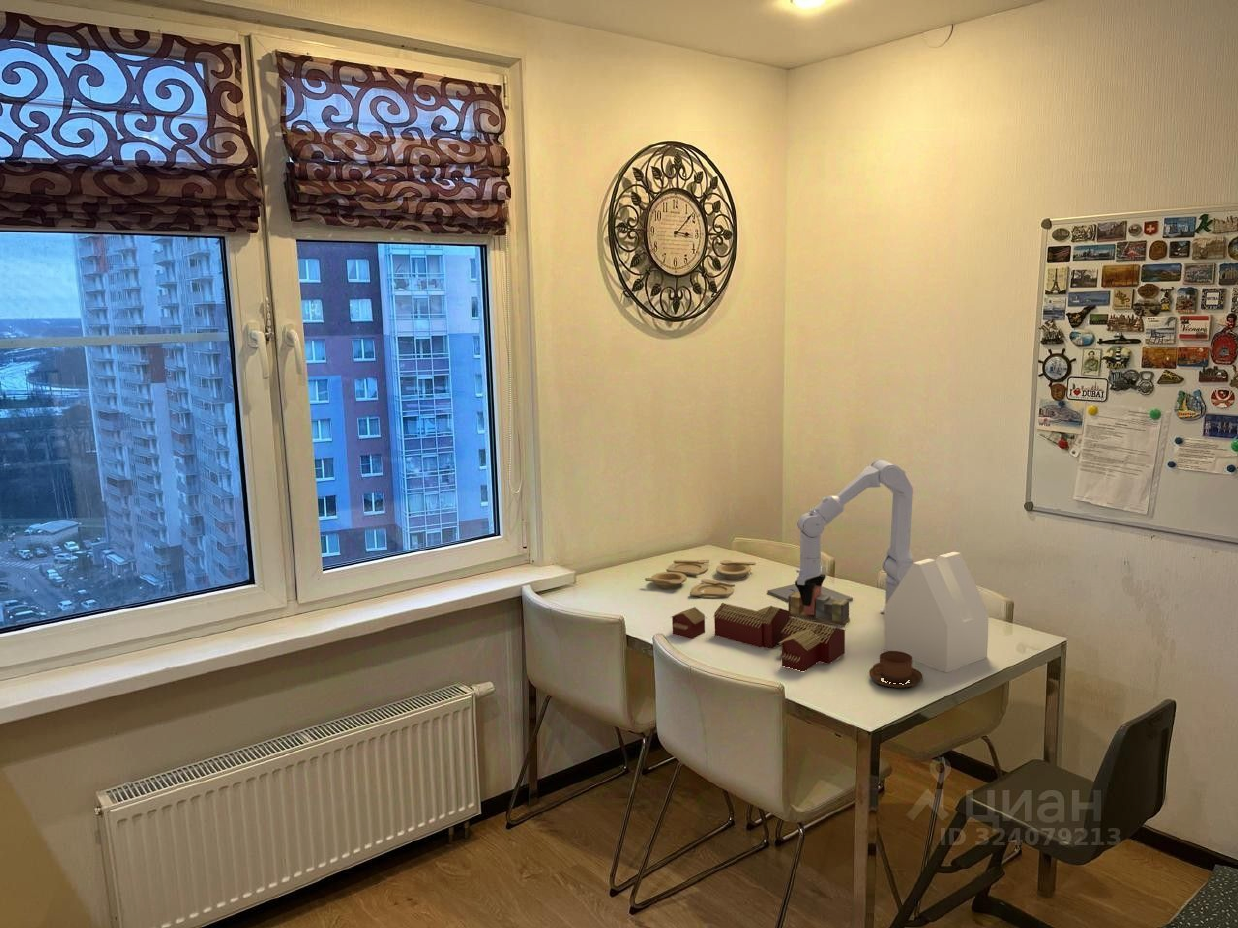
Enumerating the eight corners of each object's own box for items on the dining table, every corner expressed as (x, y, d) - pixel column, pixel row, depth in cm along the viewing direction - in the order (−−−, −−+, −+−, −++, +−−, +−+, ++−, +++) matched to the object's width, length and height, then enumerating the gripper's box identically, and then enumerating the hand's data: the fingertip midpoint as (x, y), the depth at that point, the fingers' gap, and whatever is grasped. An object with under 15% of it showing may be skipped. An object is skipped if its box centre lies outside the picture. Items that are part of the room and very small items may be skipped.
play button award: (811, 608, 261) (767, 590, 278) (811, 613, 261) (767, 595, 278) (853, 597, 269) (807, 580, 286) (853, 602, 269) (807, 585, 286)
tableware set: (678, 562, 315) (678, 551, 315) (759, 570, 303) (759, 558, 302) (636, 593, 284) (636, 580, 284) (725, 604, 272) (725, 591, 271)
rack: (849, 620, 253) (849, 598, 251) (843, 626, 249) (844, 603, 248) (794, 611, 262) (794, 589, 261) (787, 616, 258) (787, 594, 257)
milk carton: (884, 648, 233) (885, 554, 228) (924, 634, 241) (926, 544, 236) (946, 672, 217) (949, 572, 212) (987, 657, 225) (990, 560, 220)
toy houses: (849, 651, 233) (850, 613, 231) (809, 678, 217) (809, 638, 216) (706, 615, 262) (706, 582, 260) (662, 637, 247) (661, 602, 245)
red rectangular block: (820, 609, 257) (821, 586, 256) (813, 615, 253) (814, 591, 252) (810, 607, 259) (811, 584, 258) (803, 612, 255) (804, 589, 254)
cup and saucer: (900, 697, 205) (901, 671, 204) (858, 680, 215) (858, 655, 214) (933, 682, 212) (933, 657, 211) (890, 667, 222) (891, 643, 221)
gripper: (807, 547, 262) (807, 592, 264) (786, 560, 250) (786, 607, 252) (830, 550, 258) (830, 596, 260) (810, 564, 246) (810, 611, 248)
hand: (810, 602), depth 256 cm, fingers closed on red rectangular block, 5 cm apart
